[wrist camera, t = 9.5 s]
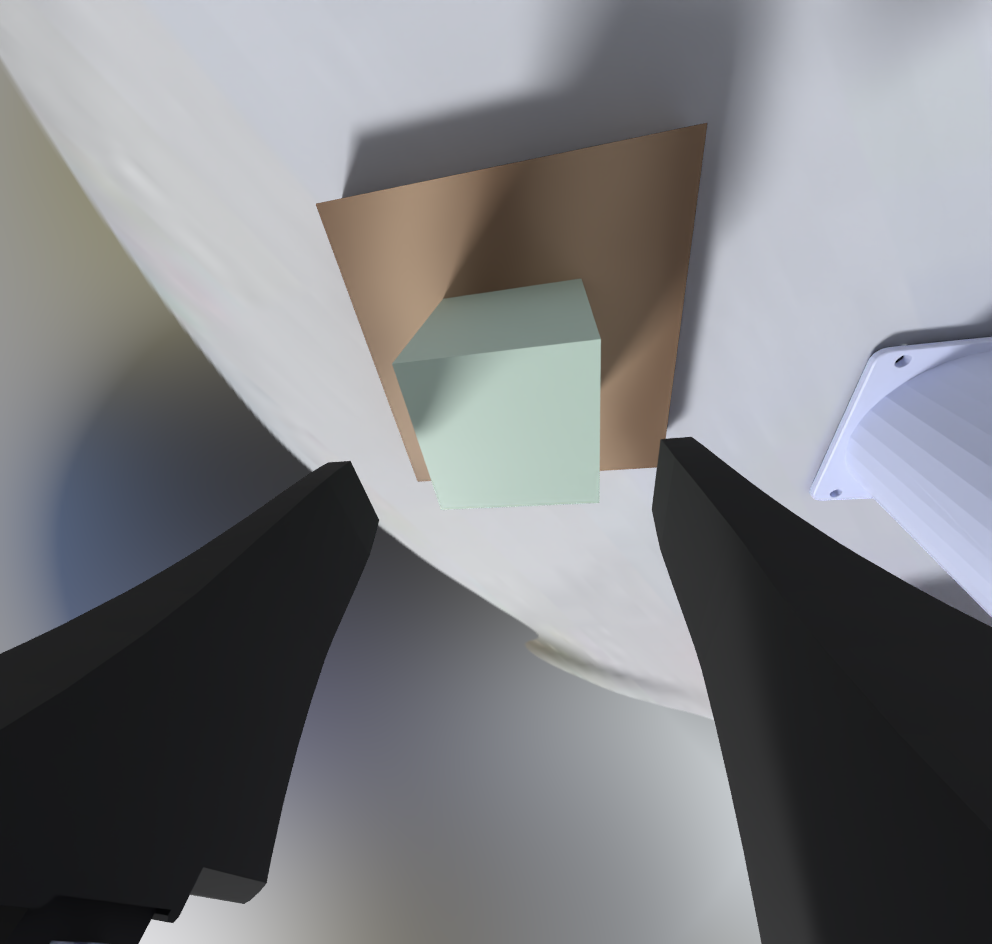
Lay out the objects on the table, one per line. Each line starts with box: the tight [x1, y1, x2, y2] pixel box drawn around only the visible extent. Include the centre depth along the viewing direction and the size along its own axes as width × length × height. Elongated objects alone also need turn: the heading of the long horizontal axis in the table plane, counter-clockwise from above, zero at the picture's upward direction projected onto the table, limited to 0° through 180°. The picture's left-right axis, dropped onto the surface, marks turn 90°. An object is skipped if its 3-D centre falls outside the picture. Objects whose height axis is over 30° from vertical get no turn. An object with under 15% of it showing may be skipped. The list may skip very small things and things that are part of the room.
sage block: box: [392, 279, 601, 510], centre depth 13 cm, size 5×5×6 cm
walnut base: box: [316, 123, 707, 482], centre depth 16 cm, size 12×12×2 cm
